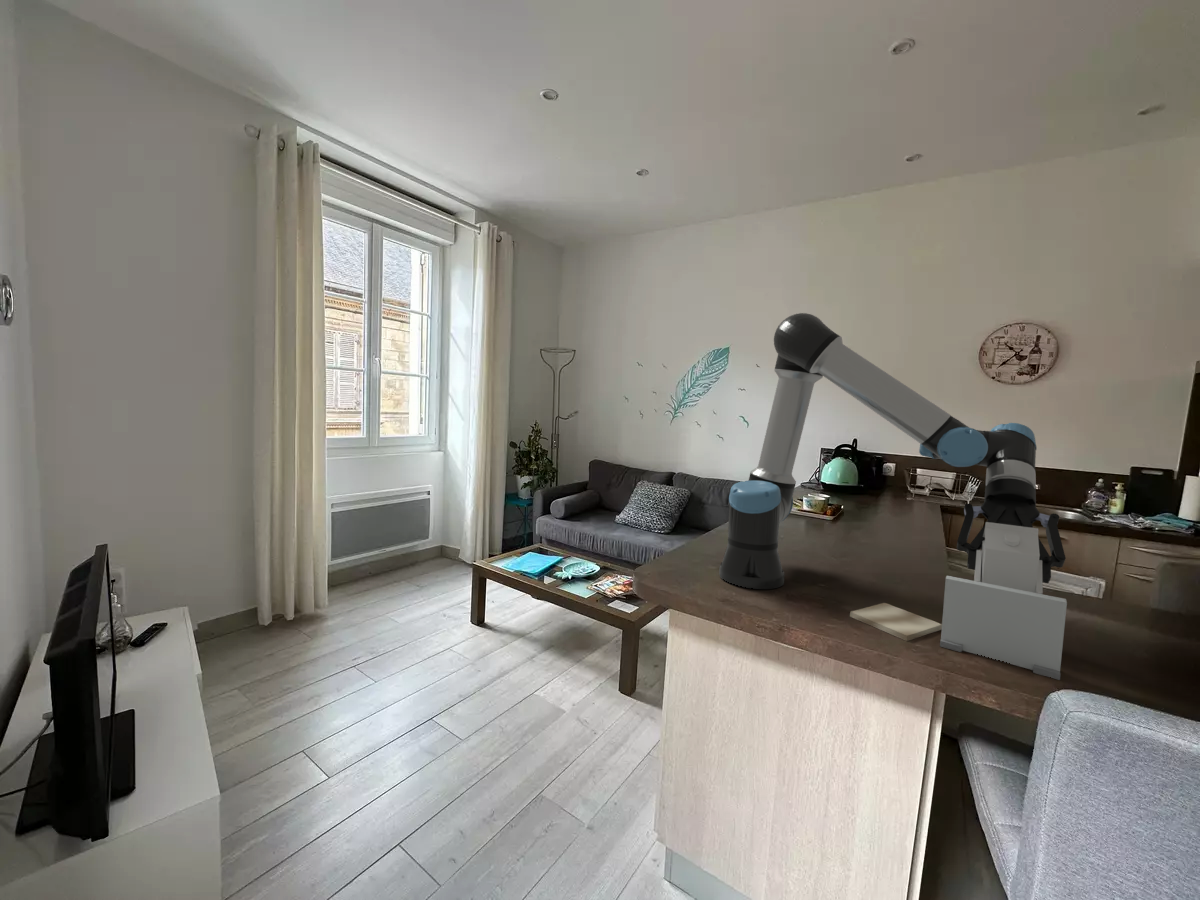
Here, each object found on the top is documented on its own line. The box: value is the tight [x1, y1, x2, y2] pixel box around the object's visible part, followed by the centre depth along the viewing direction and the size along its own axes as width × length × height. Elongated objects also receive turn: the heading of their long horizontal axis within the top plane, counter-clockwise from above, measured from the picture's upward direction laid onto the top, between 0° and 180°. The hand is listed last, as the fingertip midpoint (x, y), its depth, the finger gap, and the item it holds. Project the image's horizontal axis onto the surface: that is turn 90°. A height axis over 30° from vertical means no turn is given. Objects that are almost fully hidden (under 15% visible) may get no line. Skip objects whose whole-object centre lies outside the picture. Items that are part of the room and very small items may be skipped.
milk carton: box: [980, 521, 1040, 593], centre depth 83 cm, size 7×7×19 cm
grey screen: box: [939, 575, 1068, 681], centre depth 77 cm, size 15×4×12 cm, turn 48°
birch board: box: [849, 602, 942, 642], centre depth 90 cm, size 11×11×1 cm
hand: (1006, 590), depth 81 cm, fingers closed on milk carton, 7 cm apart
